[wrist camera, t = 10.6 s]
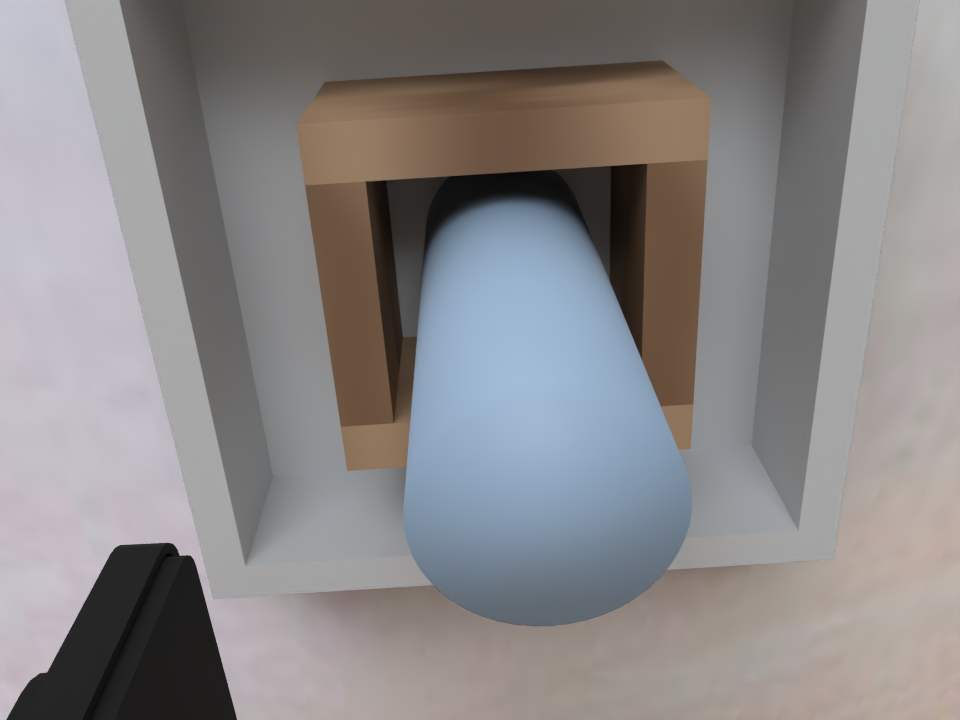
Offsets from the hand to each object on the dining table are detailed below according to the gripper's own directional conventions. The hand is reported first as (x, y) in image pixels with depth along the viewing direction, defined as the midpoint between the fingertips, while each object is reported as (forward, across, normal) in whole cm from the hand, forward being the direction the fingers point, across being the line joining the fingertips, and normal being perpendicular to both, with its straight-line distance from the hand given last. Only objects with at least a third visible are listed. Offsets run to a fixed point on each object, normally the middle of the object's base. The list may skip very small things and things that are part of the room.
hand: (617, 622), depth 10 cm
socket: (+16, +1, +1) cm, 16 cm away
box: (+16, +1, +1) cm, 16 cm away
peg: (+14, +1, +1) cm, 15 cm away
